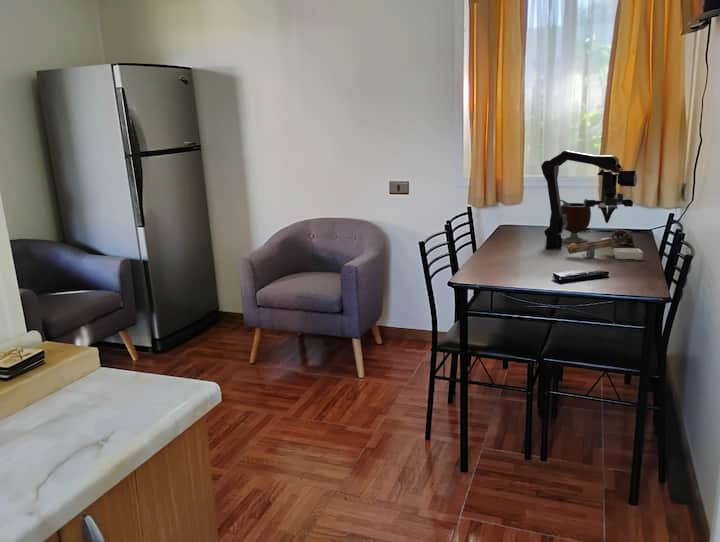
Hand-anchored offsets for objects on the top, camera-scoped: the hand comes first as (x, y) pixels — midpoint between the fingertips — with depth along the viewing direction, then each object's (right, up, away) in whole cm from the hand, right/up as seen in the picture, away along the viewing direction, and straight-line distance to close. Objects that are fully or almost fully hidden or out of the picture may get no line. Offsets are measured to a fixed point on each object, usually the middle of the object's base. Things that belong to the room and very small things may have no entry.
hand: (606, 222), depth 259 cm
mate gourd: (-4, -6, +32) cm, 32 cm away
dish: (+5, -15, -8) cm, 18 cm away
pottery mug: (+14, -9, +17) cm, 24 cm away
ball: (-16, -10, -5) cm, 20 cm away
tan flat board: (-8, -10, -2) cm, 13 cm away
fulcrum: (-9, -15, -5) cm, 18 cm away
